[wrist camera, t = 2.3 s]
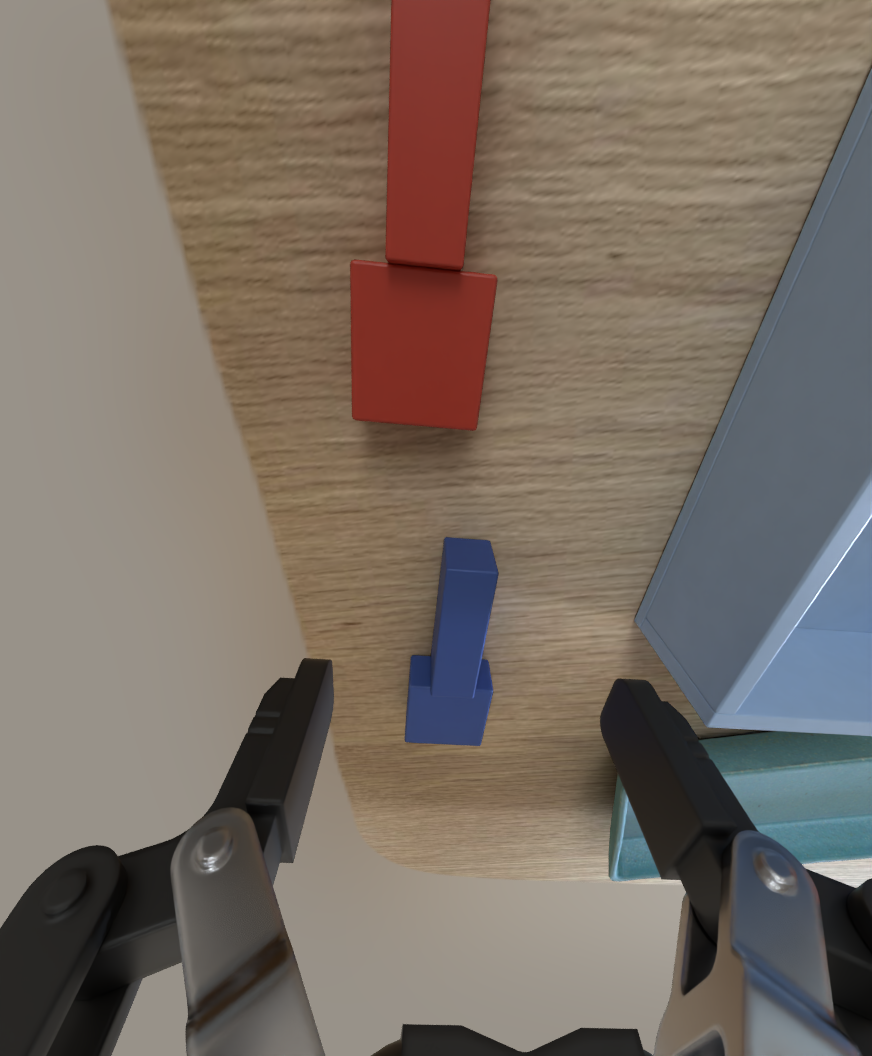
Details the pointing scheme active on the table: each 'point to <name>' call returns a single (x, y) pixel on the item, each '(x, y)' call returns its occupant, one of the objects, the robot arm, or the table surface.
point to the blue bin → (787, 495)
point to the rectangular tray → (776, 797)
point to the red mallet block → (426, 231)
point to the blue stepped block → (455, 651)
